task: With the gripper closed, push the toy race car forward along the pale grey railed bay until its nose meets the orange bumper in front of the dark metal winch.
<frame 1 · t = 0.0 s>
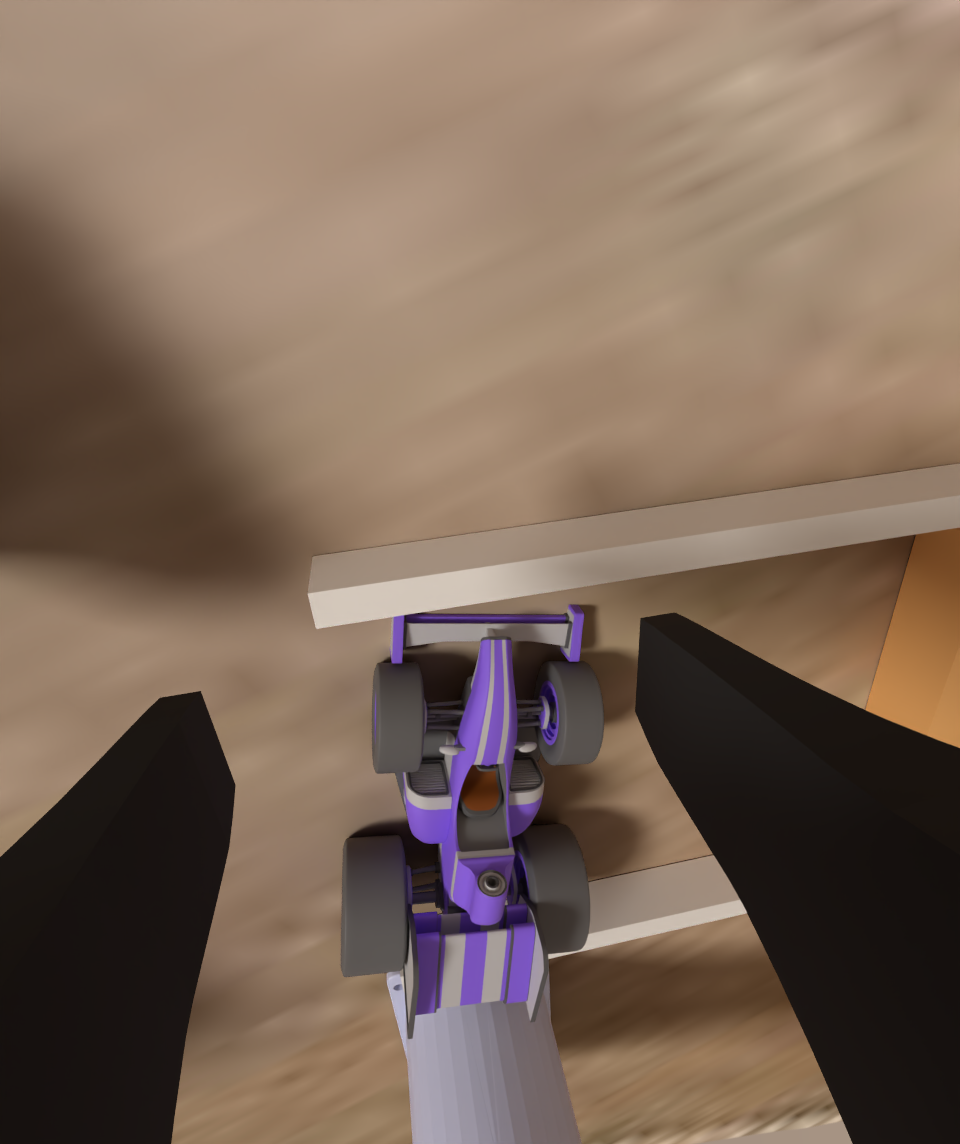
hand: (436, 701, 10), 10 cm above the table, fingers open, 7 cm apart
toy race car: (464, 754, 25), on the table
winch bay: (653, 731, 26), on the table
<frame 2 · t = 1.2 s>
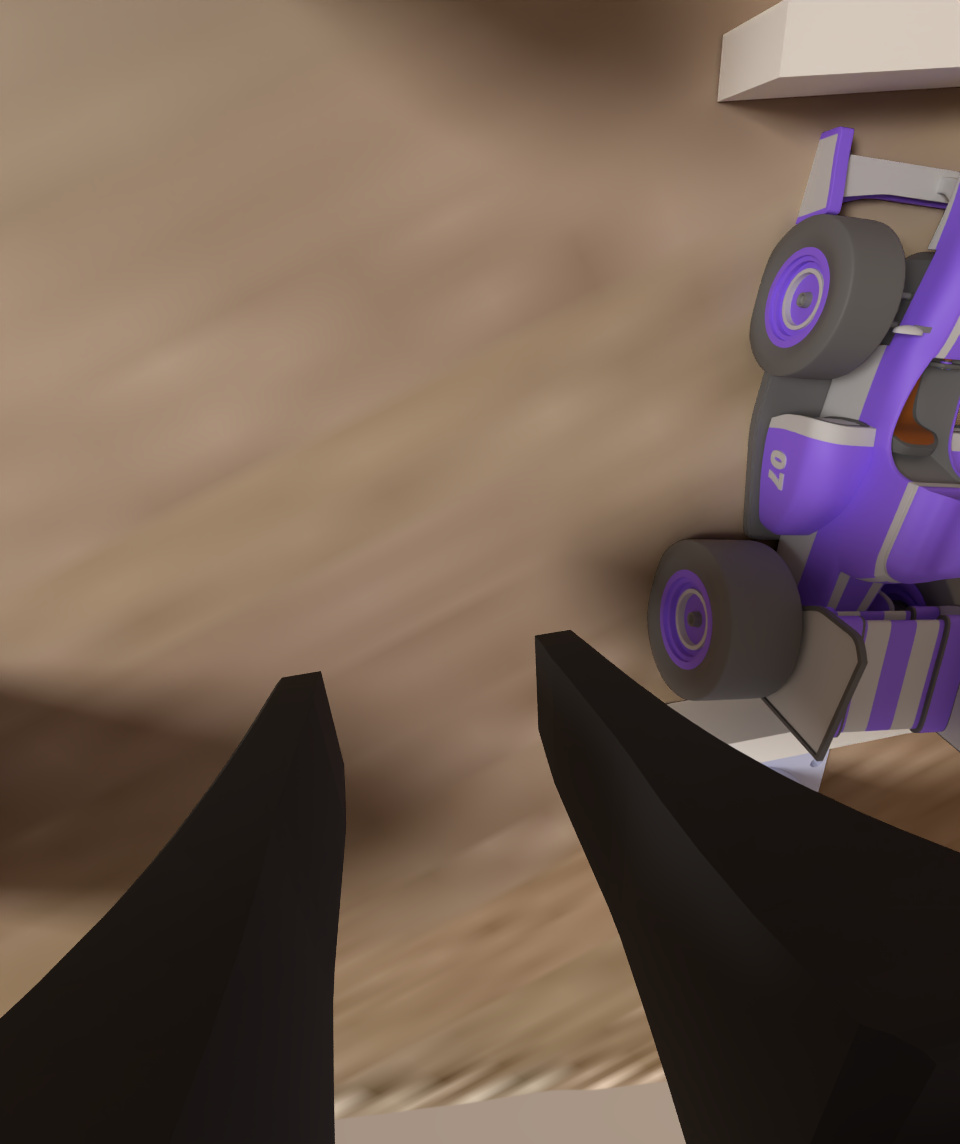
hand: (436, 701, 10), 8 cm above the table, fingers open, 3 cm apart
toy race car: (820, 436, 20), on the table
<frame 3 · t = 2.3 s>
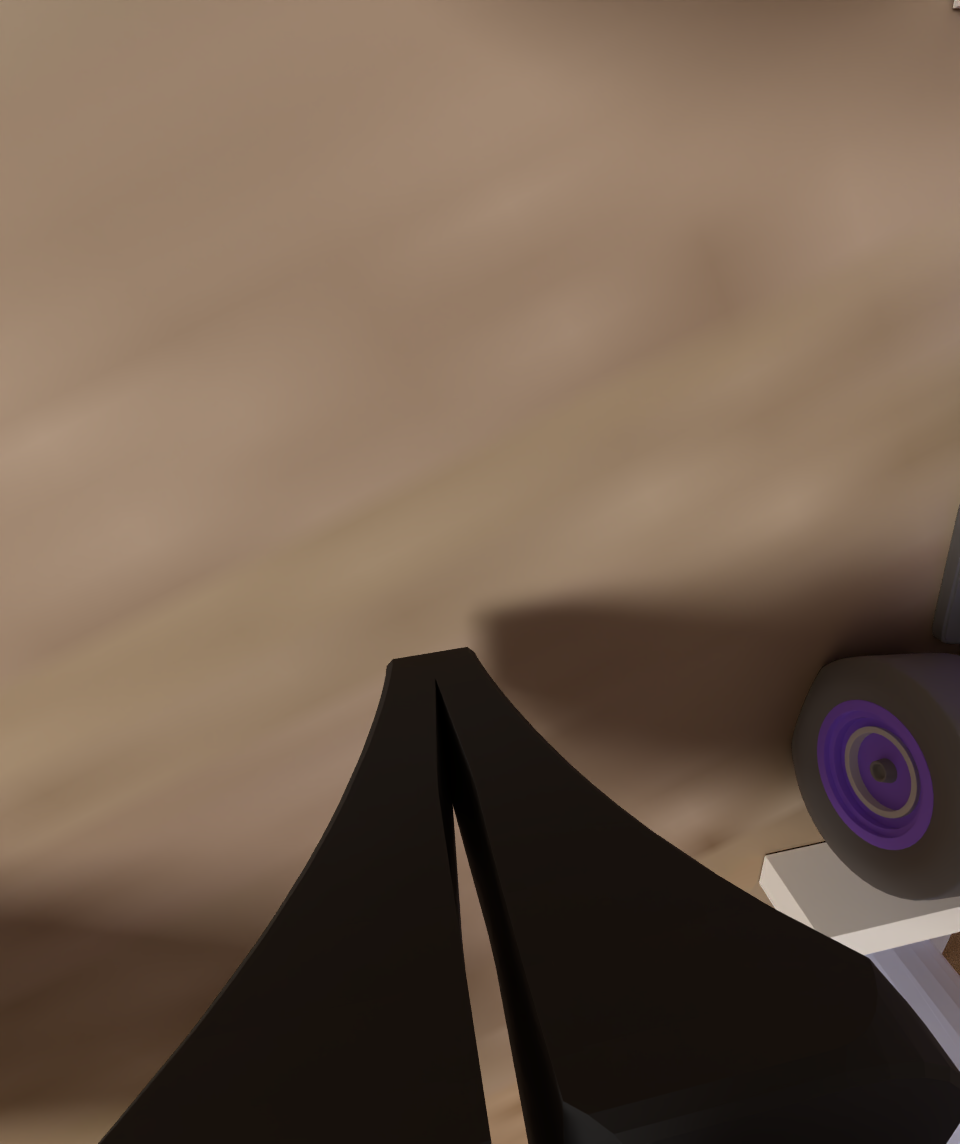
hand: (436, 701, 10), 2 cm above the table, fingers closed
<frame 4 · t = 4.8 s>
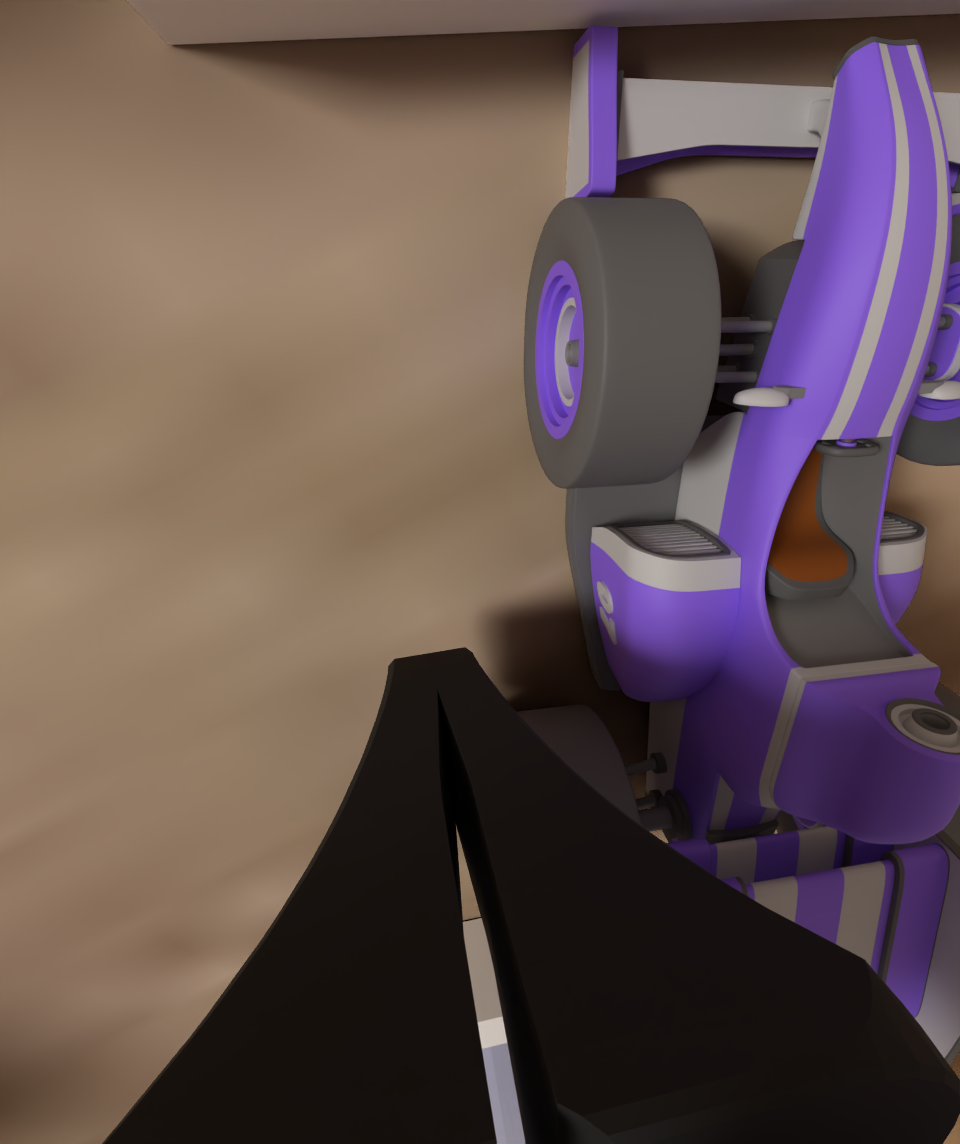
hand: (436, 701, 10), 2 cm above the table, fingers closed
toy race car: (695, 530, 13), on the table
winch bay: (889, 565, 13), on the table
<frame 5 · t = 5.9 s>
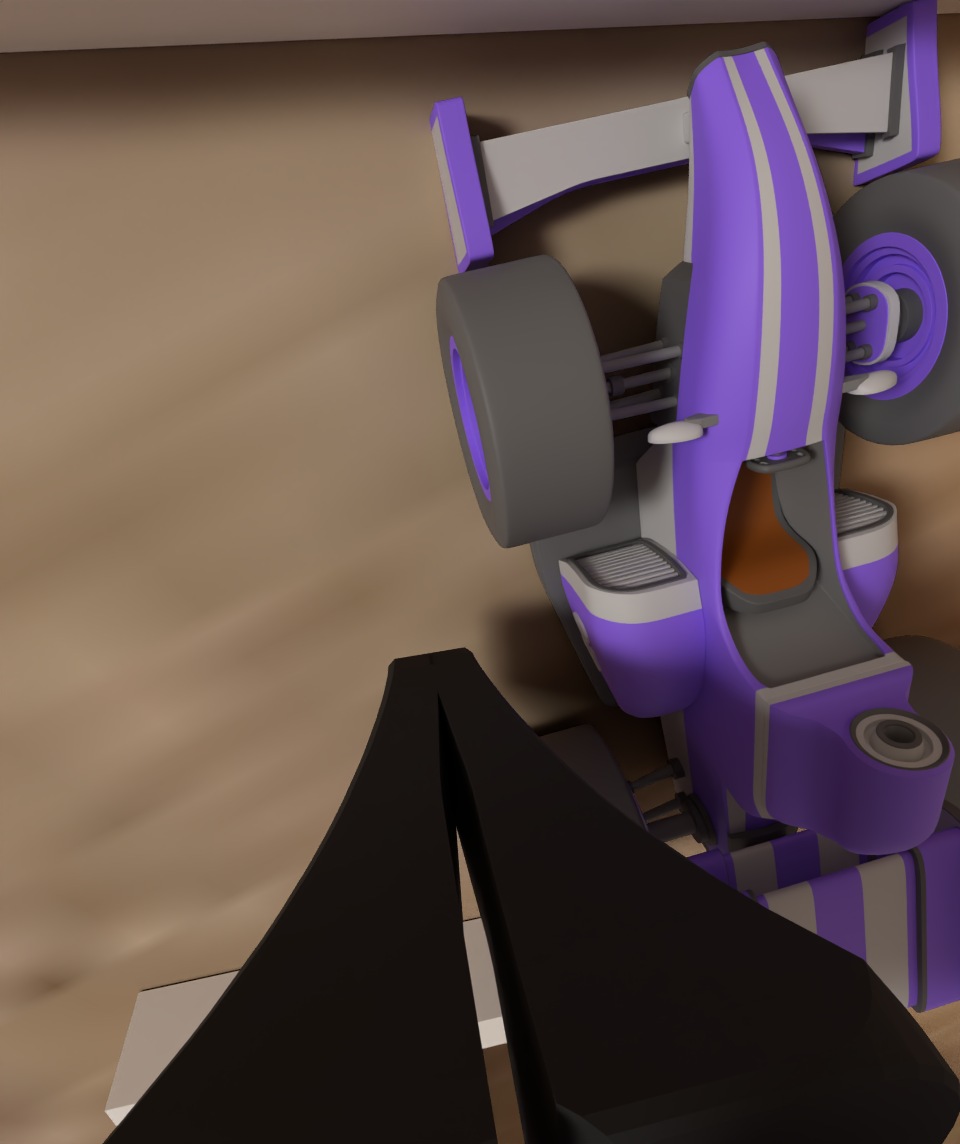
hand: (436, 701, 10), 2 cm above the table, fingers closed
toy race car: (672, 536, 12), on the table, touching gripper
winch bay: (616, 608, 12), on the table
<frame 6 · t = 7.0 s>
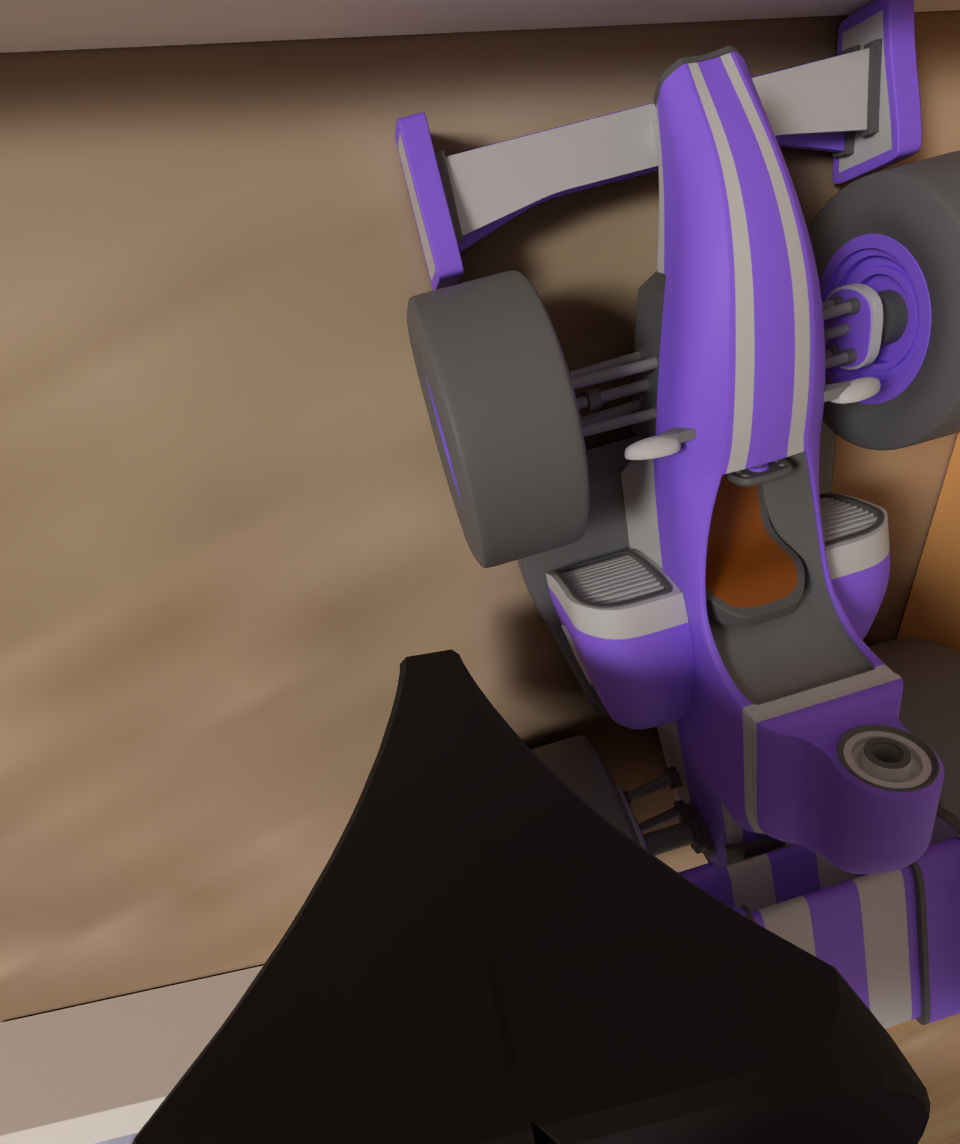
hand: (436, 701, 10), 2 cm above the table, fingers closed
toy race car: (663, 543, 12), on the table, touching gripper, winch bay
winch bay: (458, 633, 12), on the table
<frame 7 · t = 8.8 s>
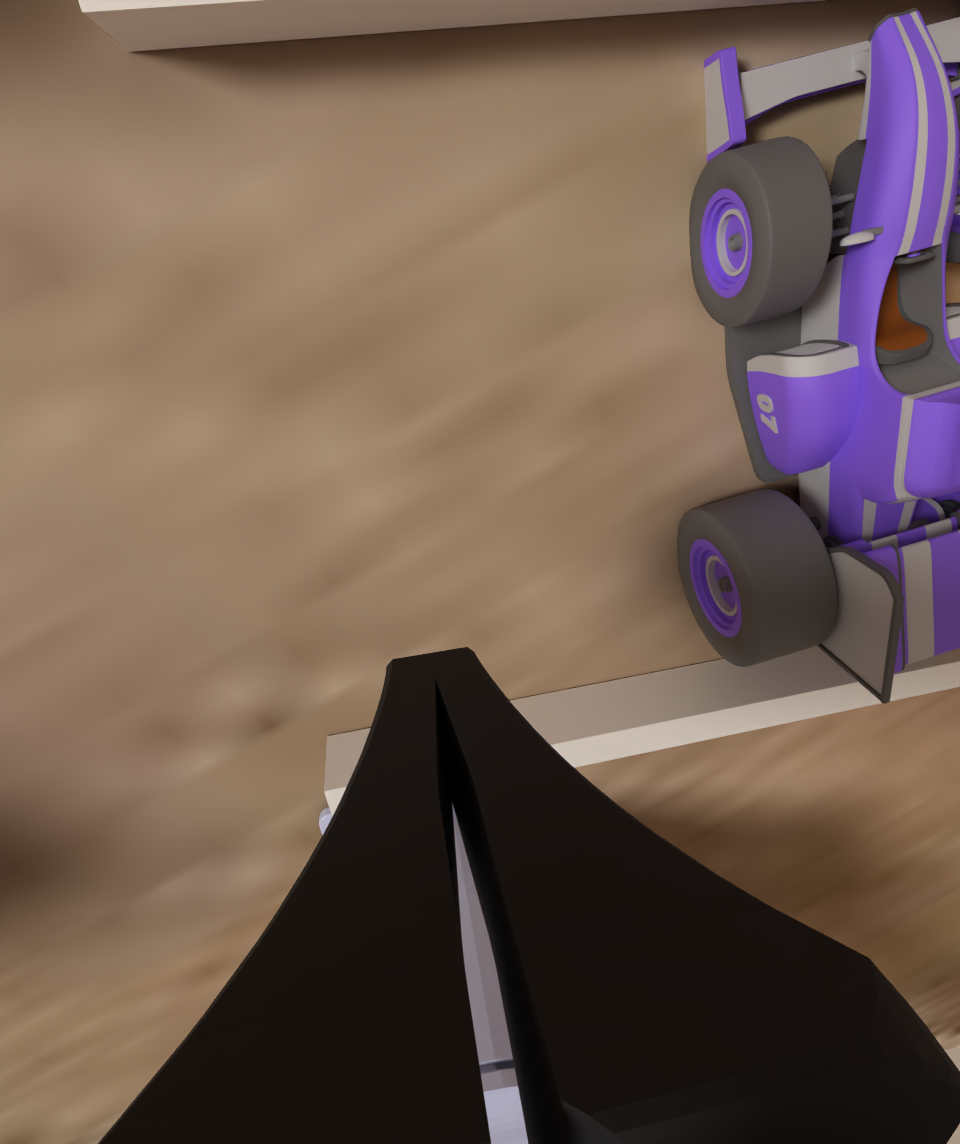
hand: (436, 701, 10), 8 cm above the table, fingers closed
toy race car: (812, 356, 18), on the table
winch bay: (681, 420, 18), on the table
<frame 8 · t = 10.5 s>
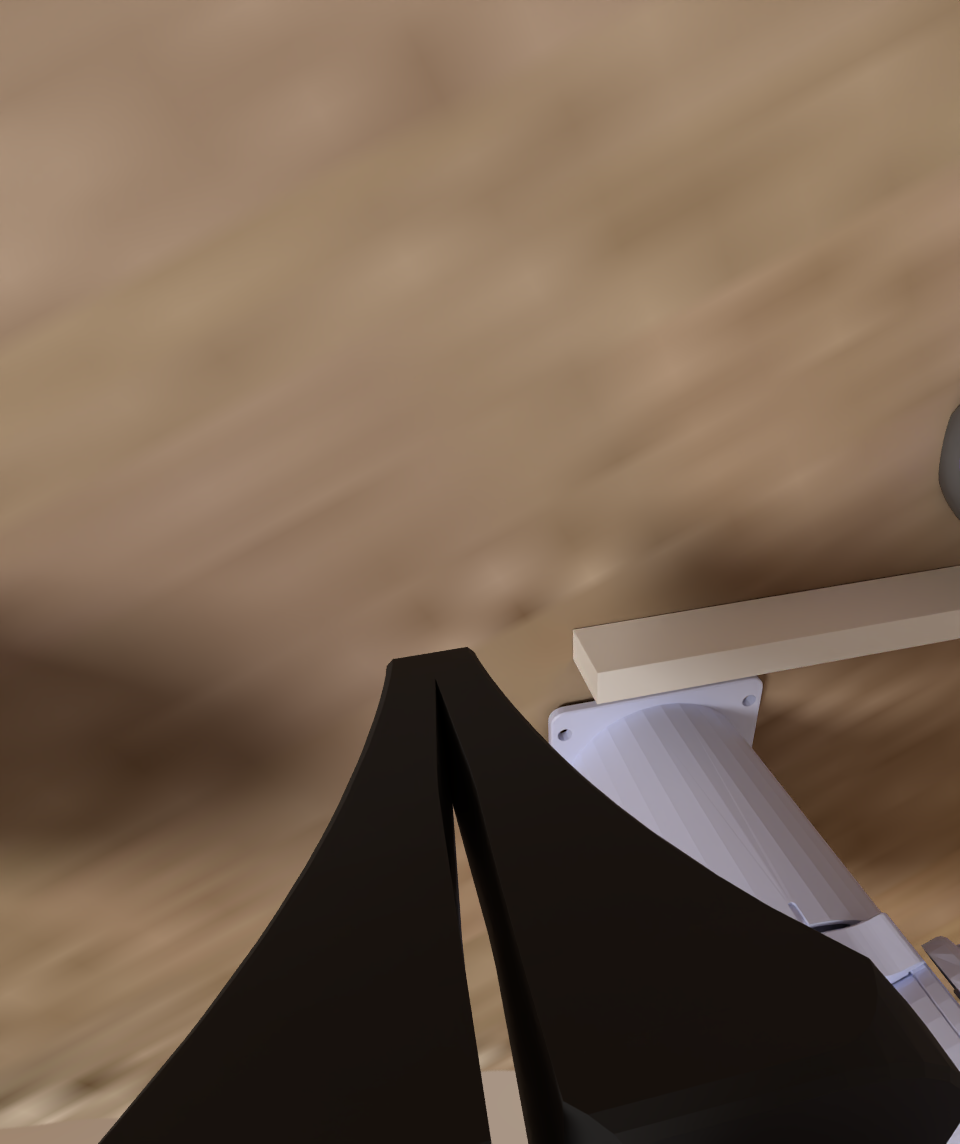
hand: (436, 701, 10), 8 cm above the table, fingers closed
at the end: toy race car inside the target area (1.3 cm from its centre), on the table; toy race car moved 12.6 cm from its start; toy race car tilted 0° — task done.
